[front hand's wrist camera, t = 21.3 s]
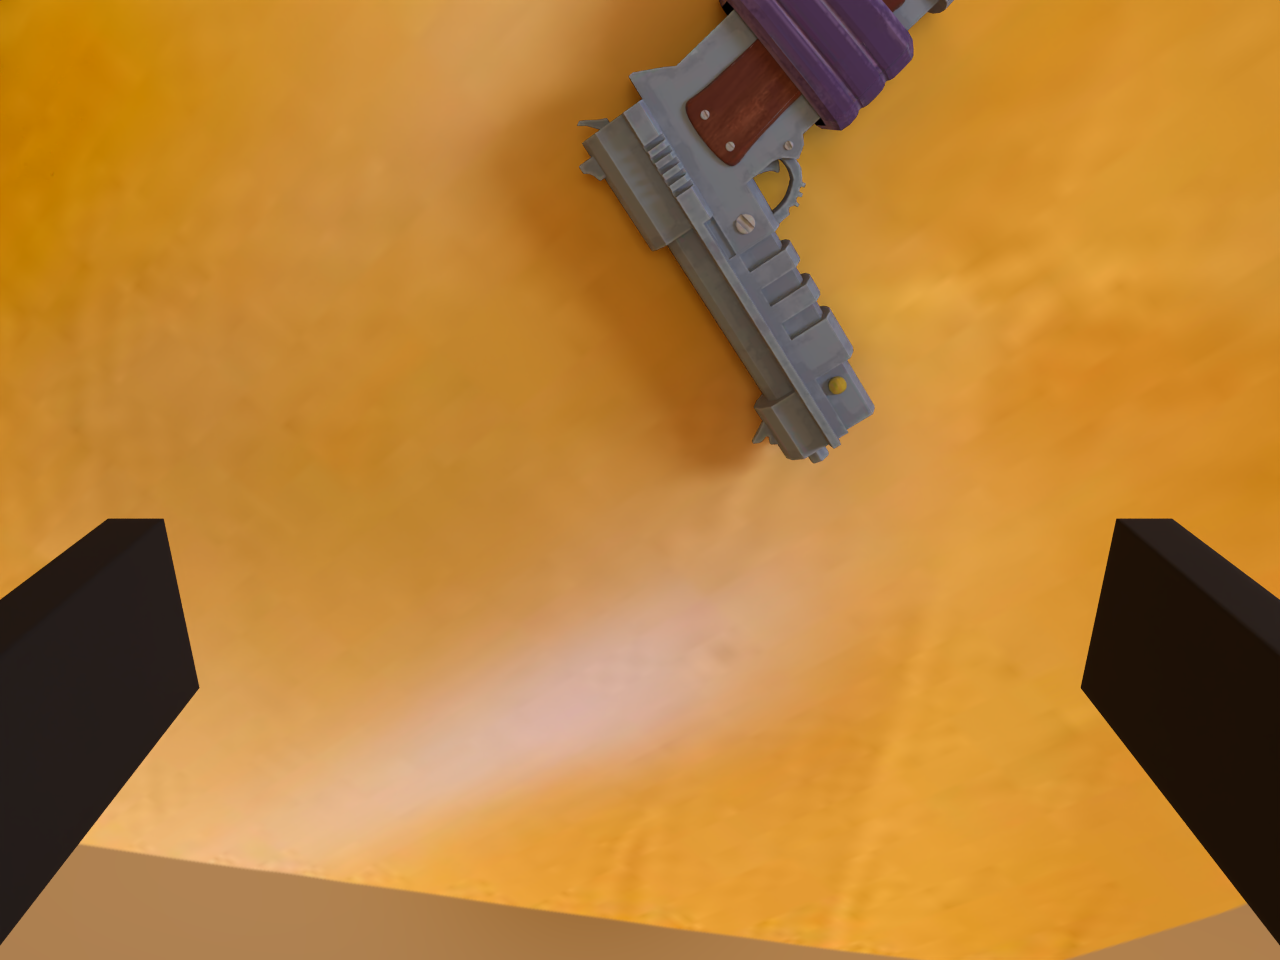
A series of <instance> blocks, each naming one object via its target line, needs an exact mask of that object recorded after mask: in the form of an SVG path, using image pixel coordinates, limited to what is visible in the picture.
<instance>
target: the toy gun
mask: <svg viewBox="0 0 1280 960" xmlns="http://www.w3.org/2000/svg"><path fill="white" fill-rule="evenodd" d="M719 1H720V4H721V6H722V8H723V10H724V11H725V13H726V14H727V17H726V18H725V19H724V20H723V21H722V22H721V23H720V24H719V25H718V26H717V27H716V28H715V29H714V30H713V31H712V32H711V33H710V34H709V35H708V36H707V37H706V38H704V39H703V40H702V41H701V42H700V43H699V44H698V45H697V46H696V47H695V48H694V49H693V50H692V51H691V52H690V53H689V54H688V55H687V56H686V57H685V58H684V59H683V60H682V61H681V62H680V63H679V64H678V65H677V66H671V67H662V68H656V69H650V70H645V71H639V72H633V73H632V74H631V75H629V78H630V80H631V81H632V83H633V85H634V86H635V88H636V89H637V91H638V93H639V94H640V96H641V98H642V100H640V101H639V102H638V103H636V104H635V105H633V106H632V107H631V108H629V109H628V110H626V111H625V112H624V113H622V114H621V115H620V116H618V117H617V118H616V119H614V120H613V121H612V122H609V121H608V119H607V118H605V119H600V120H584V121H579V122H578V125H577V126H589V127H593V128H596V129H600V130H599V131H598V132H596V133H595V134H594V135H592V136H591V137H590V138H588V139H587V140H586V141H584V142H583V143H582V144H583V146H584V147H585V149H586V150H587V152H588V153H589V155H590V156H591V158H590V159H588V160H587V161H585V162H584V163H583V164H581V165H580V166H579V168H580V169H581V171H582V172H583V173H584V174H591V175H593V176H595V177H596V178H597V179H598V180H599V181H601V180H602V179H604V178H605V179H606V181H607V183H608V184H609V186H610V187H611V189H612V190H613V192H614V193H615V195H616V196H617V198H618V199H619V201H620V203H621V204H622V206H623V207H624V209H625V210H626V212H627V213H628V215H629V216H630V218H631V219H632V221H633V223H634V224H635V226H636V227H637V229H638V230H639V232H640V233H641V235H642V236H643V238H644V239H645V241H646V242H647V244H648V246H649V247H650V249H651V250H652V251H654V250H658V249H660V248H662V247H664V246H666V245H667V246H668V247H669V249H670V250H671V252H672V253H673V255H674V256H675V258H676V260H677V261H678V263H679V264H680V266H681V267H682V269H683V270H684V272H685V274H686V275H687V277H688V278H689V280H690V281H691V283H692V284H693V286H694V288H695V289H696V291H697V292H698V294H699V295H700V297H701V298H702V300H703V302H704V303H705V305H706V306H707V308H708V309H709V311H710V312H711V314H712V316H713V317H714V319H715V320H716V322H717V323H718V325H719V326H720V328H721V330H722V331H723V333H724V334H725V336H726V337H727V339H728V340H729V342H730V344H731V345H732V347H733V348H734V350H735V351H736V353H737V354H738V356H739V358H740V359H741V361H742V362H743V364H744V365H745V367H746V368H747V370H748V372H749V373H750V375H751V376H752V378H753V379H754V381H755V382H756V384H757V386H758V387H759V389H760V390H761V392H762V393H763V394H762V395H761V396H760V397H759V399H758V400H757V401H756V403H755V406H754V409H755V410H756V412H757V413H758V415H759V416H760V418H761V419H762V422H761V424H760V426H759V428H758V430H757V432H756V434H755V436H754V438H753V440H752V442H753V443H760V442H762V441H763V440H764V438H765V437H769V441H770V444H778V446H779V447H780V449H781V450H782V452H783V453H784V455H785V456H786V458H788V459H791V460H798V459H805V458H807V457H809V459H810V460H811V462H812V463H817V462H820V461H822V460H824V459H825V458H826V457H827V456H828V454H829V453H828V450H827V449H826V447H825V446H827V445H828V444H829V445H830V446H831V447H833V448H836V447H838V446H839V445H841V443H840V441H839V439H838V438H840V437H842V436H843V435H845V434H847V433H848V431H847V429H849V428H850V427H852V426H854V425H855V424H857V423H859V422H860V421H862V420H864V419H865V418H867V417H869V416H870V415H872V414H873V412H874V404H873V403H872V401H871V399H870V398H869V396H868V394H867V393H866V391H865V389H864V388H863V386H862V384H861V383H860V381H859V379H858V378H857V376H856V374H855V372H854V371H853V369H852V367H851V366H850V364H849V362H848V361H847V360H848V359H849V358H850V357H851V355H852V353H853V347H852V345H851V343H850V342H849V340H848V338H847V337H846V335H845V333H844V331H843V330H842V328H841V326H840V325H839V323H838V321H837V320H836V318H835V316H834V315H833V313H832V311H831V309H830V308H829V307H827V306H820V307H819V305H818V303H817V302H816V301H817V299H818V298H819V296H820V291H819V289H818V288H817V286H816V284H815V282H814V281H813V279H812V277H811V276H810V274H807V273H803V274H800V273H799V271H798V270H797V268H796V266H797V264H798V263H799V261H800V257H799V255H798V254H797V252H796V250H795V249H794V247H793V245H792V244H791V242H790V240H786V239H785V240H781V241H780V240H779V238H778V236H777V235H776V233H775V231H776V229H777V228H778V226H779V223H780V222H781V221H782V220H783V219H784V218H786V217H787V216H788V215H789V207H791V206H794V205H795V206H797V207H798V206H799V204H798V203H797V202H796V198H797V197H802V193H800V192H799V189H800V187H805V183H803V182H802V172H801V167H800V165H799V163H798V162H797V160H796V159H799V156H800V153H801V151H802V148H803V145H804V141H803V133H805V132H806V131H807V130H808V129H809V128H810V127H811V126H812V125H813V124H814V123H815V124H816V125H817V126H818V127H820V128H822V129H830V130H843V129H844V128H846V127H847V126H848V125H850V124H851V123H852V121H853V120H854V119H855V118H856V116H857V115H858V111H859V109H860V108H862V107H865V106H867V105H868V104H869V103H870V102H871V101H872V100H873V99H874V98H875V97H876V96H877V95H878V94H879V93H880V92H881V91H882V89H883V87H884V86H885V82H886V81H888V80H891V79H892V78H894V77H895V76H896V75H897V74H898V73H899V72H900V71H901V70H902V69H903V68H904V67H905V66H906V65H907V64H908V63H909V62H910V61H911V60H912V57H913V40H912V38H911V36H910V34H909V32H908V30H909V29H910V28H911V27H912V26H913V25H914V24H915V23H916V22H917V21H918V20H919V19H920V18H921V17H922V16H923V15H924V14H925V13H926V12H929V13H940V12H942V11H944V10H945V9H946V8H947V7H948V6H949V5H950V4H951V3H952V2H953V1H954V0H719ZM778 159H780V160H781V161H782V162H783V164H784V165H785V166H786V168H787V170H788V172H789V176H790V182H789V186H788V189H787V192H786V195H785V196H784V198H783V200H782V201H781V203H780V204H779V205H778V206H777V207H776V208H775V209H773V210H771V208H770V207H769V205H768V203H767V201H766V200H765V198H764V196H763V195H762V193H761V191H760V190H759V188H758V186H757V185H756V183H755V181H754V179H753V177H755V176H756V175H758V174H760V173H763V172H766V171H775V172H779V170H780V169H779V162H778Z"/></svg>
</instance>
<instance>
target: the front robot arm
mask: <svg viewBox="0 0 1280 960" xmlns="http://www.w3.org/2000/svg"><path fill="white" fill-rule="evenodd" d="M198 689H199V684H198V679H197V674H196V670H195V665H194V660H193V656H192V651H191V646H190V641H189V637H188V632H187V627H186V622H185V618H184V613H183V608H182V603H181V599H180V594H179V589H178V585H177V580H176V575H175V570H174V566H173V561H172V556H171V551H170V547H169V542H168V537H167V532H166V528H165V523H164V519H107V520H106V521H104V522H103V523H102V524H100V525H99V526H98V527H96V528H95V529H94V530H92V531H91V532H90V533H88V534H87V535H86V536H84V537H83V538H82V539H80V540H79V541H78V542H76V543H75V544H74V545H72V546H71V547H70V548H68V549H67V550H66V551H64V552H63V553H62V554H60V555H59V556H58V557H56V558H55V559H54V560H52V561H51V562H50V563H48V564H47V565H46V566H44V567H43V568H42V569H40V570H39V571H38V572H37V573H35V574H34V575H33V576H31V577H30V578H29V579H27V580H26V581H25V582H23V583H22V584H21V585H19V586H18V587H17V588H15V589H14V590H13V591H11V592H10V593H9V594H7V595H6V596H5V597H3V598H2V599H1V600H0V945H1V944H2V942H3V941H4V940H5V938H6V937H7V936H8V935H9V933H10V932H11V931H12V929H13V928H14V927H15V925H16V924H17V923H18V922H19V920H20V919H21V918H22V916H23V915H24V914H25V913H26V911H27V910H28V909H29V907H30V906H31V905H32V903H33V902H34V901H35V900H36V898H37V897H38V896H39V894H40V893H41V892H42V891H43V889H44V888H45V887H46V885H47V884H48V883H49V882H50V880H51V879H52V878H53V876H54V875H55V874H56V872H57V871H58V870H59V869H60V867H61V866H62V865H63V863H64V862H65V861H66V859H67V858H68V857H69V856H70V854H71V853H72V852H73V850H74V849H75V848H76V847H77V845H78V844H79V843H80V841H81V840H82V839H83V838H84V836H85V835H86V834H87V832H88V831H89V830H90V829H91V827H92V826H93V825H94V823H95V822H96V821H97V819H98V818H99V817H100V816H101V814H102V813H103V812H104V810H105V809H106V808H107V807H108V805H109V804H110V803H111V801H112V800H113V799H114V797H115V796H116V795H117V794H118V792H119V791H120V790H121V788H122V787H123V786H124V785H125V783H126V782H127V781H128V779H129V778H130V777H131V776H132V774H133V773H134V772H135V770H136V769H137V768H138V766H139V765H140V764H141V763H142V761H143V760H144V759H145V757H146V756H147V755H148V754H149V752H150V751H151V750H152V748H153V747H154V746H155V745H156V743H157V742H158V741H159V739H160V738H161V737H162V735H163V734H164V733H165V732H166V730H167V729H168V728H169V726H170V725H171V724H172V723H173V721H174V720H175V719H176V717H177V716H178V715H179V713H180V712H181V711H182V710H183V708H184V707H185V706H186V704H187V703H188V702H189V701H190V699H191V698H192V697H193V695H194V694H195V693H196V692H197V690H198ZM1081 689H1082V690H1083V692H1084V693H1085V694H1086V695H1087V697H1088V698H1089V699H1090V701H1091V702H1092V703H1093V704H1094V706H1095V707H1096V708H1097V710H1098V711H1099V712H1100V713H1101V715H1102V716H1103V717H1104V719H1105V720H1106V721H1107V723H1108V724H1109V725H1110V726H1111V728H1112V729H1113V730H1114V732H1115V733H1116V734H1117V735H1118V737H1119V738H1120V739H1121V741H1122V742H1123V743H1124V745H1125V746H1126V747H1127V748H1128V750H1129V751H1130V752H1131V754H1132V755H1133V756H1134V757H1135V759H1136V760H1137V761H1138V763H1139V764H1140V765H1141V766H1142V768H1143V769H1144V770H1145V772H1146V773H1147V774H1148V776H1149V777H1150V778H1151V779H1152V781H1153V782H1154V783H1155V785H1156V786H1157V787H1158V788H1159V790H1160V791H1161V792H1162V794H1163V795H1164V796H1165V797H1166V799H1167V800H1168V801H1169V803H1170V804H1171V805H1172V807H1173V808H1174V809H1175V810H1176V812H1177V813H1178V814H1179V816H1180V817H1181V818H1182V819H1183V821H1184V822H1185V823H1186V825H1187V826H1188V827H1189V829H1190V830H1191V831H1192V832H1193V834H1194V835H1195V836H1196V838H1197V839H1198V840H1199V841H1200V843H1201V844H1202V845H1203V847H1204V848H1205V849H1206V850H1207V852H1208V853H1209V854H1210V856H1211V857H1212V858H1213V860H1214V861H1215V862H1216V863H1217V865H1218V866H1219V867H1220V869H1221V870H1222V871H1223V872H1224V874H1225V875H1226V876H1227V878H1228V879H1229V880H1230V882H1231V883H1232V884H1233V885H1234V887H1235V888H1236V889H1237V891H1238V892H1239V893H1240V894H1241V896H1242V897H1243V898H1244V900H1245V901H1246V902H1247V903H1248V905H1249V906H1250V907H1251V909H1252V910H1253V911H1254V913H1255V914H1256V915H1257V916H1258V918H1259V919H1260V920H1261V922H1262V923H1263V924H1264V925H1265V927H1266V928H1267V929H1268V931H1269V932H1270V933H1271V935H1272V936H1273V937H1274V938H1275V940H1276V941H1277V942H1278V943H1279V945H1280V600H1279V599H1278V598H1277V597H1275V596H1274V595H1273V594H1271V593H1270V592H1269V591H1267V590H1266V589H1265V588H1263V587H1262V586H1261V585H1259V584H1258V583H1257V582H1255V581H1254V580H1253V579H1251V578H1250V577H1249V576H1247V575H1246V574H1245V573H1243V572H1242V571H1241V570H1240V569H1238V568H1237V567H1236V566H1234V565H1233V564H1232V563H1230V562H1229V561H1228V560H1226V559H1225V558H1224V557H1222V556H1221V555H1220V554H1218V553H1217V552H1216V551H1214V550H1213V549H1212V548H1210V547H1209V546H1208V545H1206V544H1205V543H1204V542H1202V541H1201V540H1200V539H1198V538H1197V537H1196V536H1194V535H1193V534H1192V533H1190V532H1189V531H1188V530H1186V529H1185V528H1184V527H1182V526H1181V525H1180V524H1178V523H1177V522H1176V521H1174V520H1173V519H1116V523H1115V528H1114V532H1113V537H1112V542H1111V547H1110V551H1109V556H1108V561H1107V566H1106V570H1105V575H1104V580H1103V585H1102V589H1101V594H1100V599H1099V603H1098V608H1097V613H1096V618H1095V622H1094V627H1093V632H1092V637H1091V641H1090V646H1089V651H1088V656H1087V660H1086V665H1085V670H1084V674H1083V679H1082V684H1081Z"/></svg>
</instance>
